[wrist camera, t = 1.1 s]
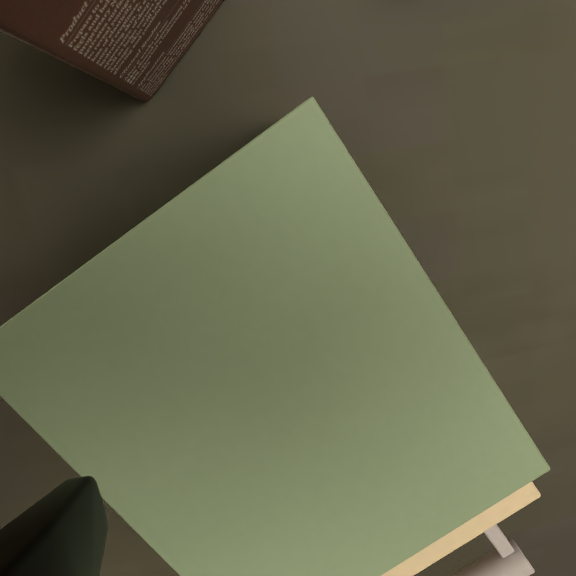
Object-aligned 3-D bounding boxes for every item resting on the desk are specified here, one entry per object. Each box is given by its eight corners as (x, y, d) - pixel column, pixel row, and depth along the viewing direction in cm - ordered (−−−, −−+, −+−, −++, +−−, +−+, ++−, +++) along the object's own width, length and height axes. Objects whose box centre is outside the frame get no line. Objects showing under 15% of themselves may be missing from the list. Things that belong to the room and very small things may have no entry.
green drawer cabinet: (450, 365, 23) (551, 469, 16) (254, 495, 24) (257, 653, 17) (288, 120, 20) (312, 95, 12) (67, 282, 21) (-41, 356, 13)
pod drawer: (516, 483, 24) (604, 591, 18) (344, 591, 25) (374, 728, 19) (316, 187, 20) (346, 199, 14) (116, 331, 21) (61, 403, 15)
